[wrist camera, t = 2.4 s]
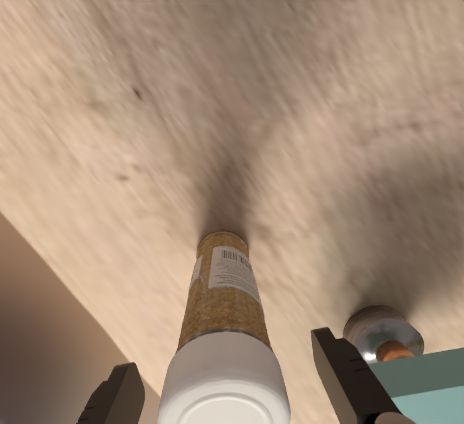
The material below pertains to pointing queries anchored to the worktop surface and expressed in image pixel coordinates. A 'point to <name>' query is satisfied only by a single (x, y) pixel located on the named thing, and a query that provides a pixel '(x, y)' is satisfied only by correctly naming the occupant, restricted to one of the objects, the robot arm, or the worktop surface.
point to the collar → (426, 386)
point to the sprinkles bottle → (224, 346)
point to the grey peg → (382, 335)
